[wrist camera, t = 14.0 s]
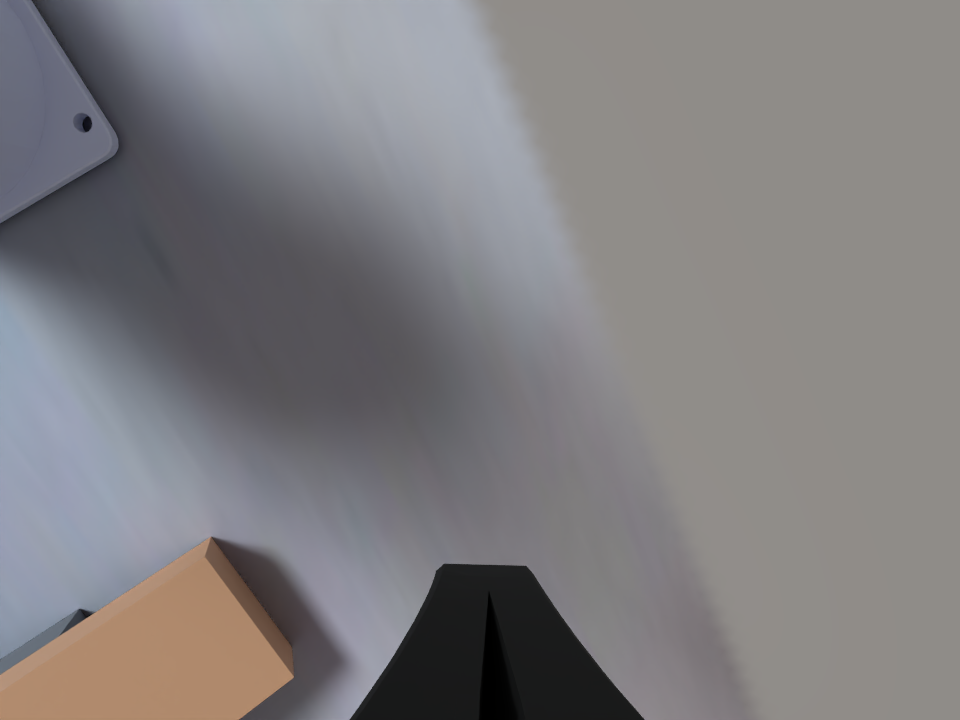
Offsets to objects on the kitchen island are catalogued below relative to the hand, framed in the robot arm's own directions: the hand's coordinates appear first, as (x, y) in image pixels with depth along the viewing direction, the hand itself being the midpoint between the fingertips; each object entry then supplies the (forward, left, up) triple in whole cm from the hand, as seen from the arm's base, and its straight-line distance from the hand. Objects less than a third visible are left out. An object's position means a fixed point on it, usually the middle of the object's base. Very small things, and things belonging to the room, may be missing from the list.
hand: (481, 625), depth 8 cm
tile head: (+2, -10, -10) cm, 14 cm away
